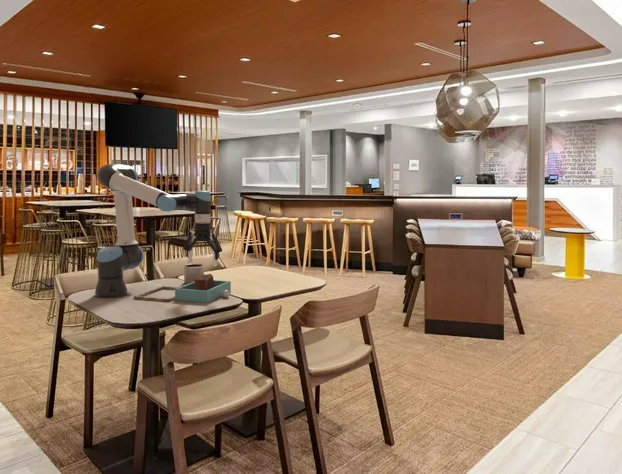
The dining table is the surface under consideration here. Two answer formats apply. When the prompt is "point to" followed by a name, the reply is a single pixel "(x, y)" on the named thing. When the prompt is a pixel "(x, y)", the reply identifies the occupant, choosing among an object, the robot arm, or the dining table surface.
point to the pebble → (225, 293)
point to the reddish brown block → (204, 282)
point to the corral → (153, 297)
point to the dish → (201, 292)
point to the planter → (193, 272)
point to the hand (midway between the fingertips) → (202, 265)
